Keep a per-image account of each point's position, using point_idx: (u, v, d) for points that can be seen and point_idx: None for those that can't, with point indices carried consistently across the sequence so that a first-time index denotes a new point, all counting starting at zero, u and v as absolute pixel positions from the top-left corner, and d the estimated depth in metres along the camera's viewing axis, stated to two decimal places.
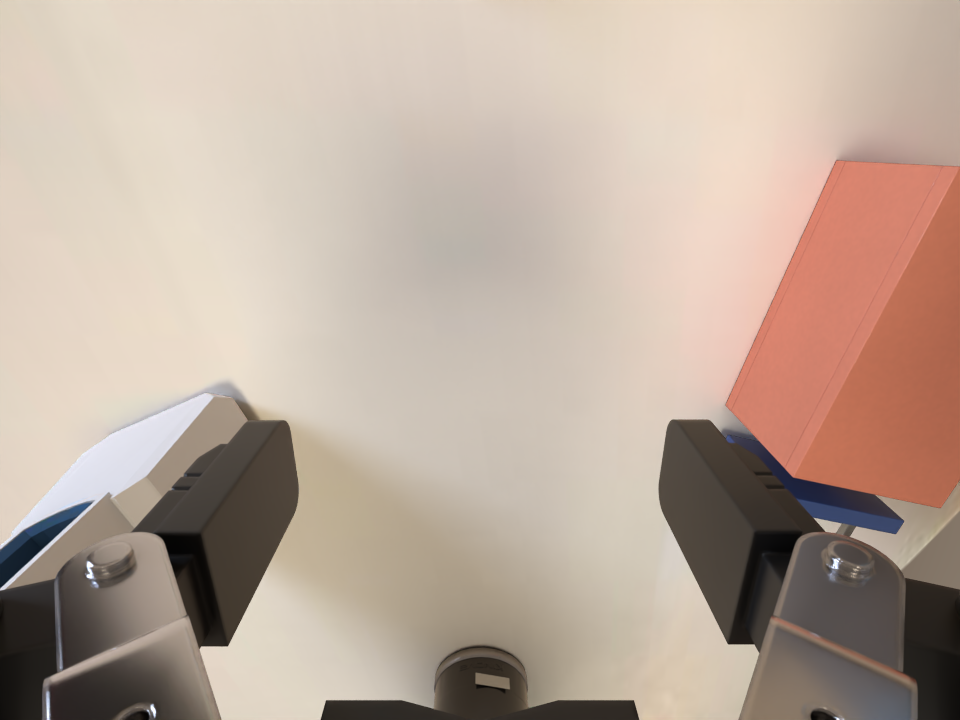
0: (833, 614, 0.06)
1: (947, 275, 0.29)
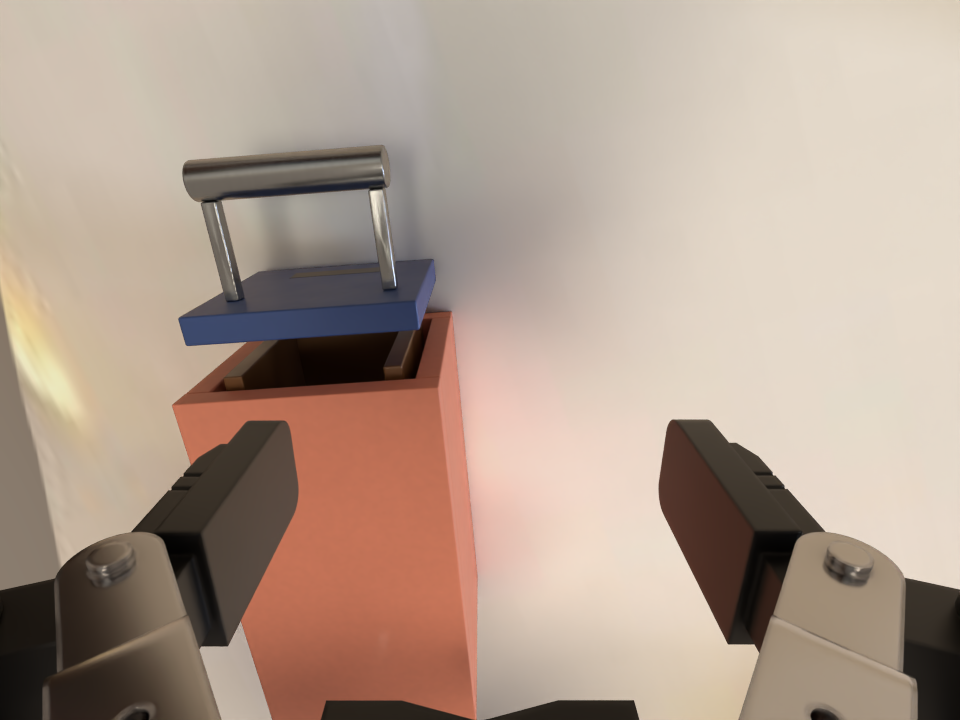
0: (833, 614, 0.06)
1: (417, 653, 0.26)
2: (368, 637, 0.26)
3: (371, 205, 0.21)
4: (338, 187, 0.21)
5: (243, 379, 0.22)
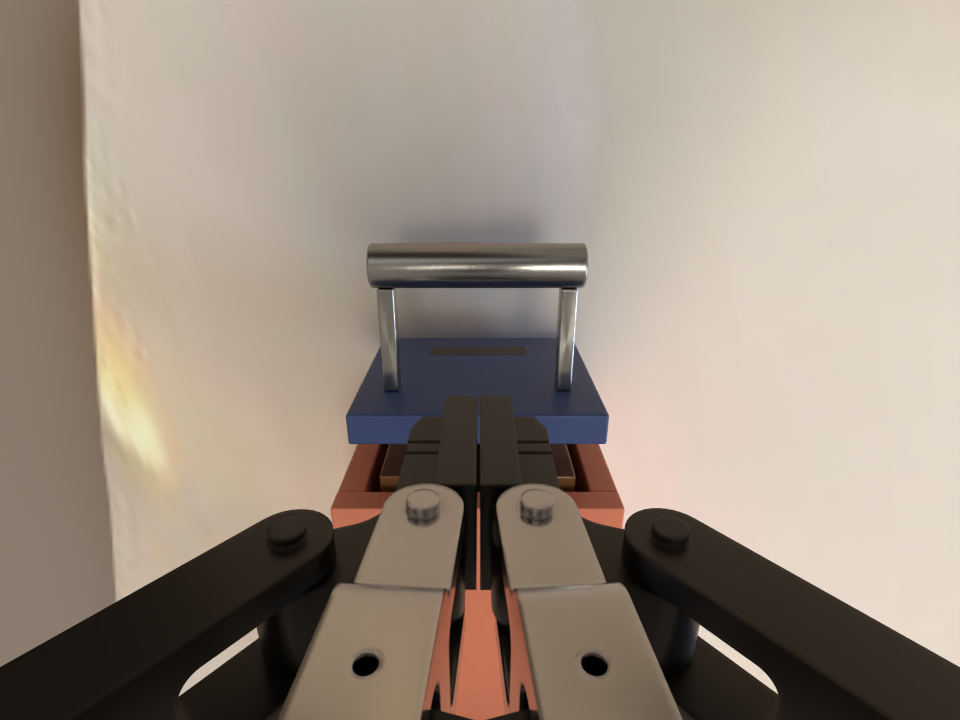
0: (546, 558, 0.07)
1: None
2: None
3: (562, 305, 0.19)
4: (532, 286, 0.19)
5: None
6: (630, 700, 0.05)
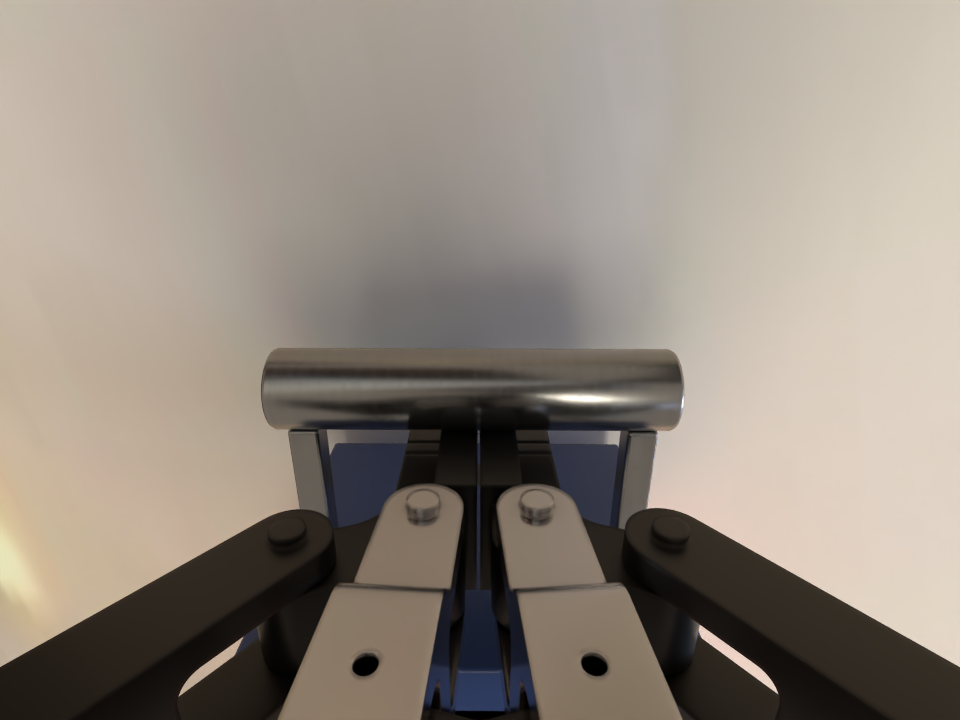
0: (546, 558, 0.07)
1: None
2: None
3: (627, 458, 0.11)
4: (575, 429, 0.10)
5: None
6: (630, 699, 0.05)
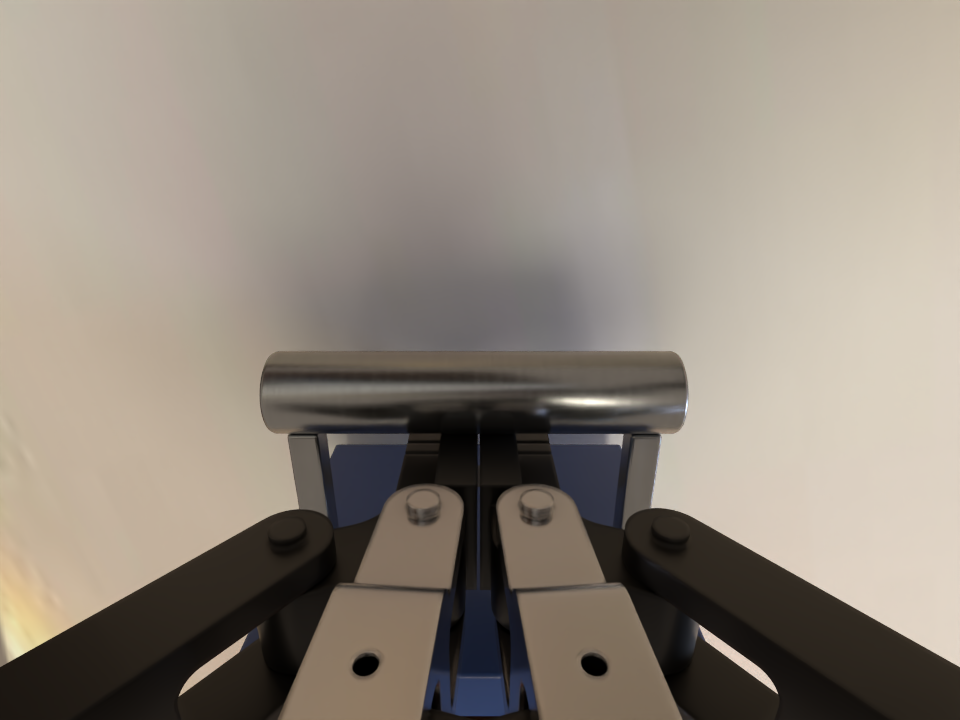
0: (546, 558, 0.07)
1: None
2: None
3: (631, 461, 0.10)
4: (578, 433, 0.10)
5: None
6: (630, 700, 0.05)
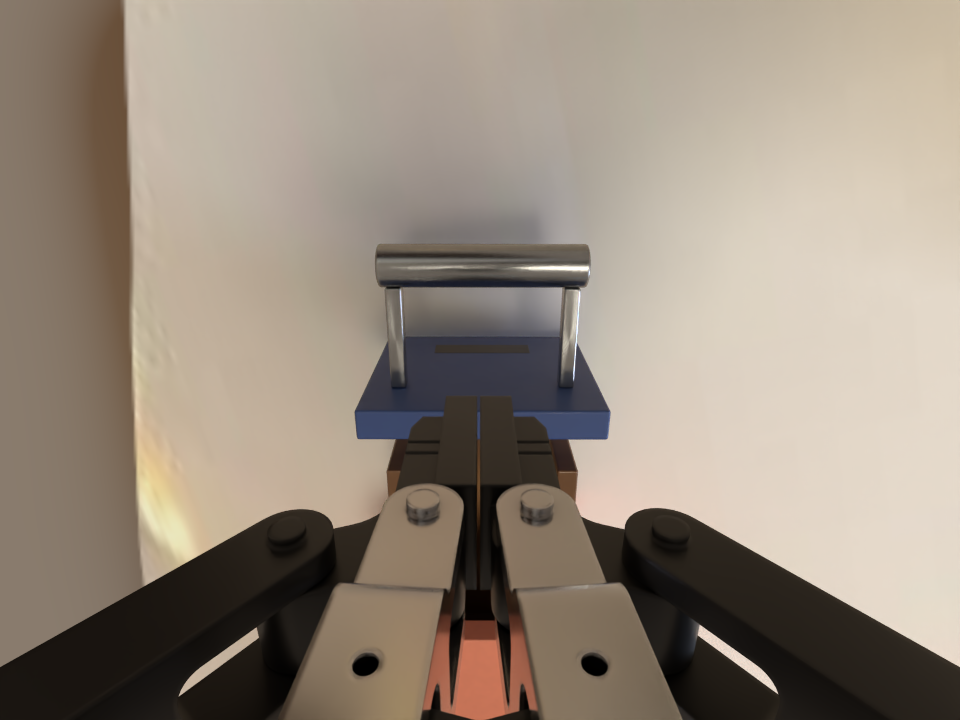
0: (546, 558, 0.07)
1: None
2: None
3: (565, 304, 0.20)
4: (536, 285, 0.19)
5: None
6: (630, 700, 0.05)
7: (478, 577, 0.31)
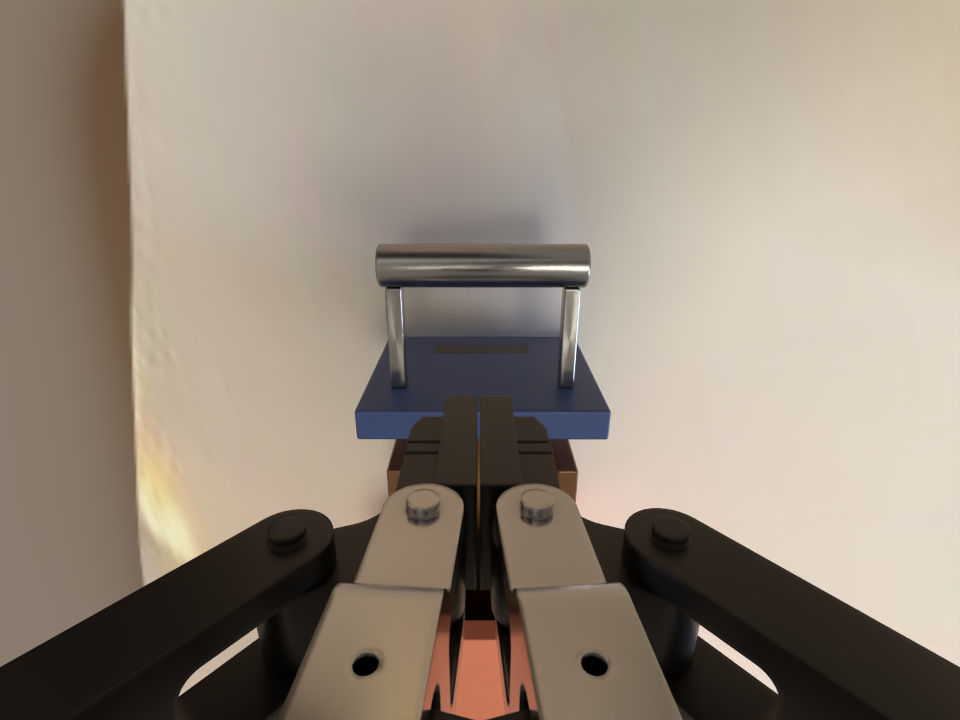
0: (546, 558, 0.07)
1: None
2: None
3: (565, 304, 0.20)
4: (536, 285, 0.19)
5: None
6: (630, 700, 0.05)
7: (478, 577, 0.31)
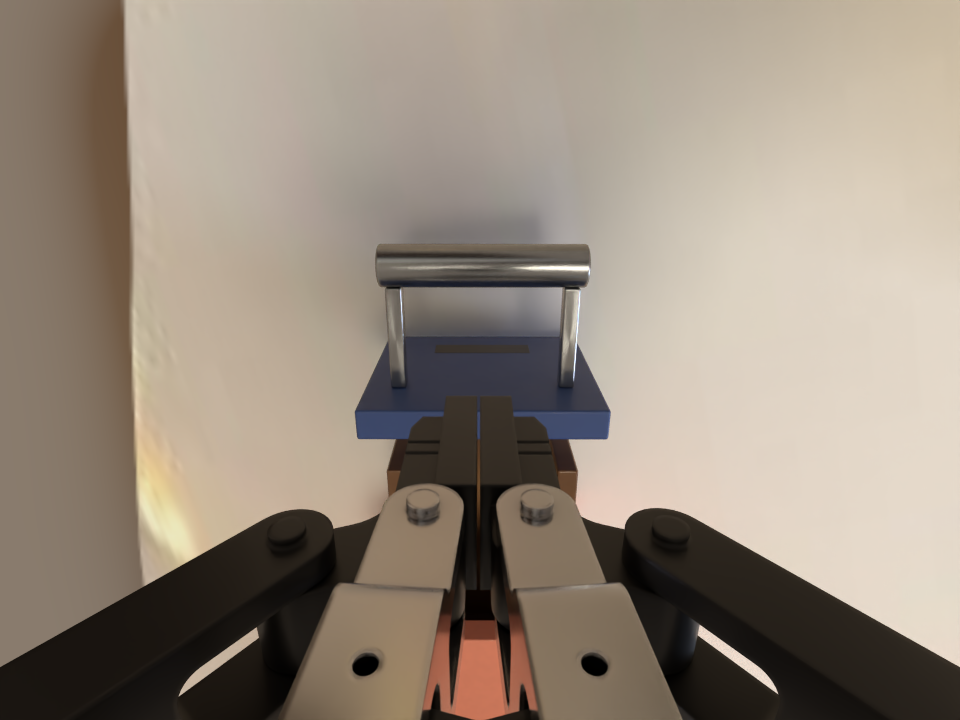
0: (546, 558, 0.07)
1: None
2: None
3: (565, 304, 0.20)
4: (536, 285, 0.19)
5: None
6: (630, 700, 0.05)
7: (478, 577, 0.31)
